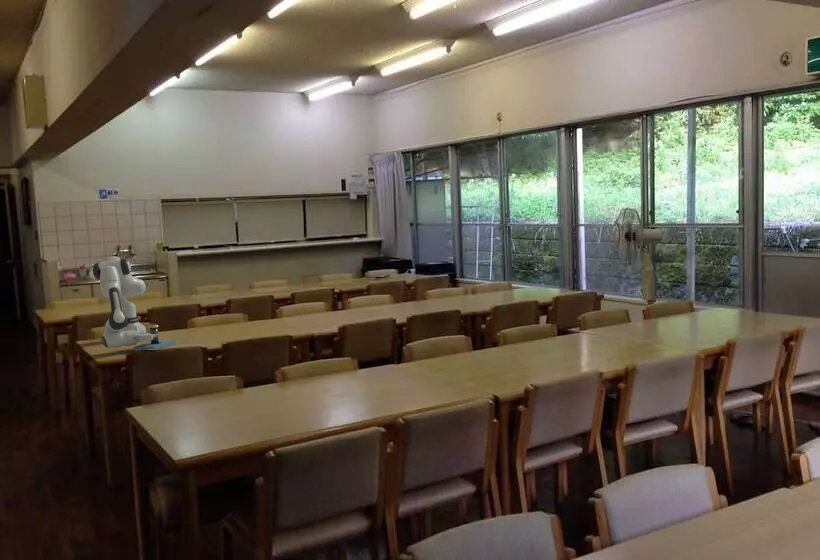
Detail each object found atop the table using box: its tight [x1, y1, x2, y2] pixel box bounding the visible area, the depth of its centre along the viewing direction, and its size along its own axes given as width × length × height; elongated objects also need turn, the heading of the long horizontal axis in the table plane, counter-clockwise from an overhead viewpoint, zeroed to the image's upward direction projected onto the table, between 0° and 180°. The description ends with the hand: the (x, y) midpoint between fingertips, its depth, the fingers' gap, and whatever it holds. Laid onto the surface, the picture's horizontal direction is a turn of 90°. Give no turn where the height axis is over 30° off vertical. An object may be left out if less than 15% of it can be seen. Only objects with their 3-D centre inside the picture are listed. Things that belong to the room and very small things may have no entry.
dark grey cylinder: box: [147, 324, 160, 344], centre depth 433 cm, size 6×6×12 cm
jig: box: [133, 339, 177, 352], centre depth 433 cm, size 22×14×2 cm, turn 167°
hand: (155, 334), depth 433 cm, fingers closed on dark grey cylinder, 4 cm apart
